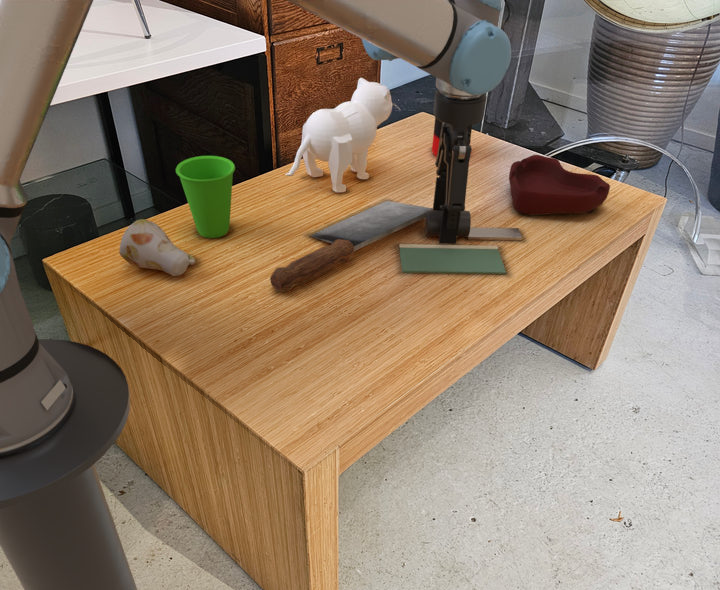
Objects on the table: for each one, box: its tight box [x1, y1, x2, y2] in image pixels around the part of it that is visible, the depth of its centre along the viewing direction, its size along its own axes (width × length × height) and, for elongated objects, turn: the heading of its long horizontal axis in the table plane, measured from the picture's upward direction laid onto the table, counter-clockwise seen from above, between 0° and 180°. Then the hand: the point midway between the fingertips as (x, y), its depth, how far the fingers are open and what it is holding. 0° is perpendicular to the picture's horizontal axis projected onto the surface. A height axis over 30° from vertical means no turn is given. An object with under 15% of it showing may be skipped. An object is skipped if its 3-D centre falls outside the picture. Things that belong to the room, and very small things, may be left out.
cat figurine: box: [284, 77, 400, 193], centre depth 120 cm, size 25×10×17 cm, turn 131°
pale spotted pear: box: [119, 218, 196, 277], centre depth 98 cm, size 8×10×10 cm
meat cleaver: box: [269, 200, 433, 292], centre depth 106 cm, size 34×11×4 cm, turn 136°
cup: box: [175, 155, 236, 239], centre depth 105 cm, size 9×9×11 cm
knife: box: [424, 210, 523, 241], centre depth 109 cm, size 16×4×4 cm, turn 91°
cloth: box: [398, 243, 507, 275], centre depth 104 cm, size 16×8×1 cm, turn 91°
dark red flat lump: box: [508, 154, 611, 217], centre depth 119 cm, size 18×16×5 cm
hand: (443, 227), depth 111 cm, fingers open, 9 cm apart
